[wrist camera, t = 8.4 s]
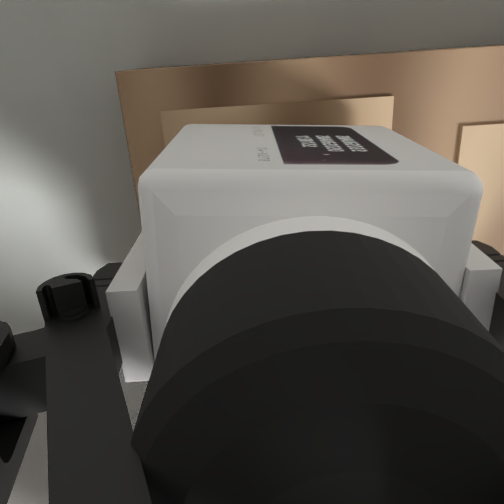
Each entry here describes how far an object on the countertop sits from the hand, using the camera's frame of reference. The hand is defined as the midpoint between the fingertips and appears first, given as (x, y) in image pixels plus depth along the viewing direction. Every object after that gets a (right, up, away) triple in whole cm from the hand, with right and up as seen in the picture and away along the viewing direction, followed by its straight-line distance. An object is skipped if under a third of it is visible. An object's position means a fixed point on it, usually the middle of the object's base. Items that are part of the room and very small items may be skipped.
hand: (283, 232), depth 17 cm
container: (0, +1, +1) cm, 1 cm away
